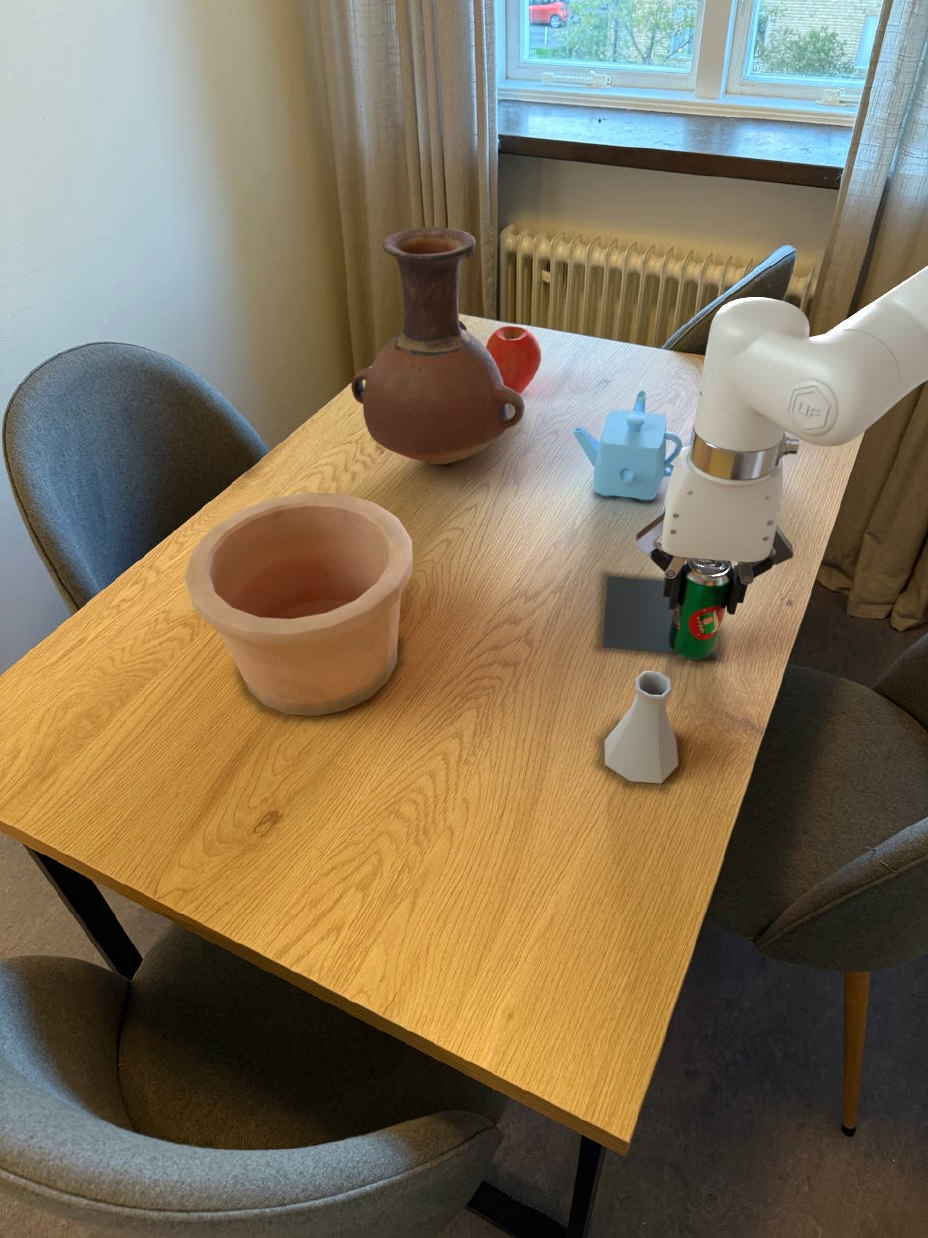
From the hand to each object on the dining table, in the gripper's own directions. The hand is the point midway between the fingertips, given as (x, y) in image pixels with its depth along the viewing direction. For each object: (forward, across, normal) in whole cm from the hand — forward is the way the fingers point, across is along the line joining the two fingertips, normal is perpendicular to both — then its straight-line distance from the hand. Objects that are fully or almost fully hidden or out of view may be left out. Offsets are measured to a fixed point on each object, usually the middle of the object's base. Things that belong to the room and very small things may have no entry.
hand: (700, 601), depth 85 cm
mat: (+7, +3, -5) cm, 9 cm away
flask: (+7, +5, +15) cm, 17 cm away
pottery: (+7, +39, +7) cm, 41 cm away
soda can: (+7, 0, 0) cm, 7 cm away
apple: (+7, +26, -54) cm, 60 cm away
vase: (+7, +34, -34) cm, 49 cm away
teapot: (+7, +8, -31) cm, 33 cm away
